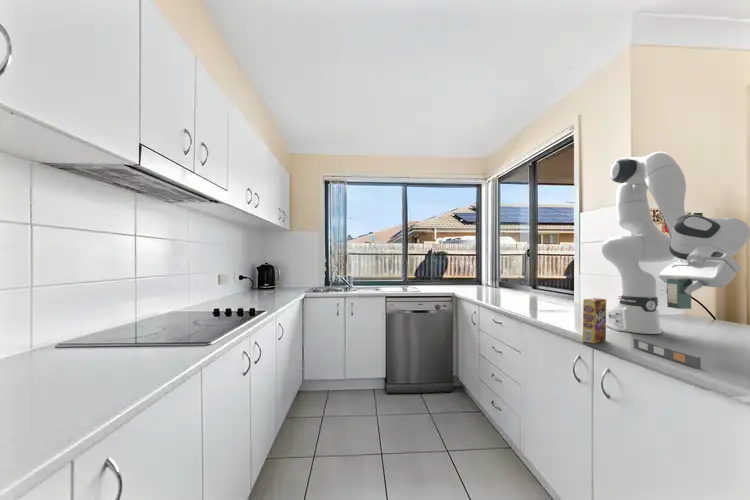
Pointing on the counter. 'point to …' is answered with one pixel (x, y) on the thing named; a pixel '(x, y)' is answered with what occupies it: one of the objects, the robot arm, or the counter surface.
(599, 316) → the candy box
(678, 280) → the tea tin
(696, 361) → the rail
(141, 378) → the counter surface
